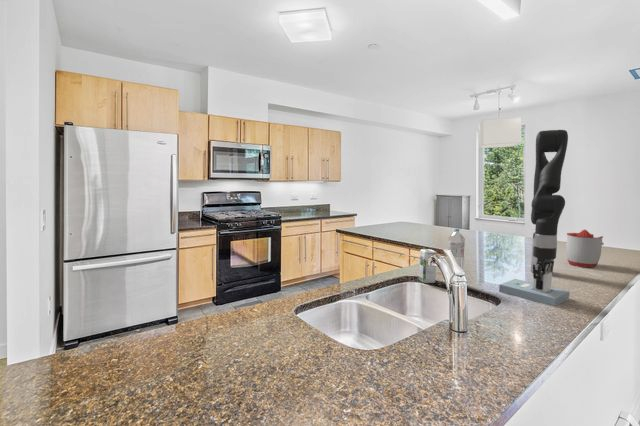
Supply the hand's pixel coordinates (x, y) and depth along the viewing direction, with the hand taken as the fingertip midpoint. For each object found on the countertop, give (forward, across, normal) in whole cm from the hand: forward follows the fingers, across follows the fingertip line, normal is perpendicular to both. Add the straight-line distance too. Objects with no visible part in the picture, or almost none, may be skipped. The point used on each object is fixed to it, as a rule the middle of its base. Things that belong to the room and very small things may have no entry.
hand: (541, 287), depth 130 cm
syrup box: (+4, +20, -39) cm, 44 cm away
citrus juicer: (+4, -76, -8) cm, 77 cm away
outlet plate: (+4, 0, -3) cm, 5 cm away
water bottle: (+4, +14, -29) cm, 32 cm away
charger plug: (+2, 0, 0) cm, 2 cm away
